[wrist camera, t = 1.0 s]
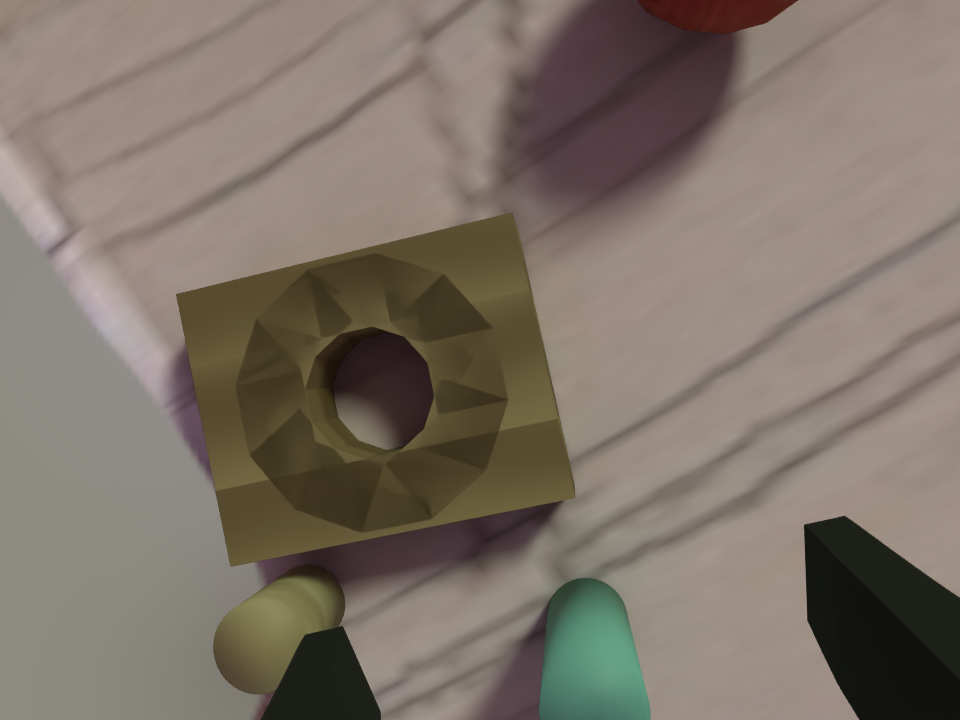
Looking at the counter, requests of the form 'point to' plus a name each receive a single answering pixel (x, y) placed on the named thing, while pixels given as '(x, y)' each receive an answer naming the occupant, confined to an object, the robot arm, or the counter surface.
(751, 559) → the counter surface
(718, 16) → the onion
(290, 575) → the short dowel
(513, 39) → the counter surface
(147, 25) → the counter surface
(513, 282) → the board
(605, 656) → the long dowel
